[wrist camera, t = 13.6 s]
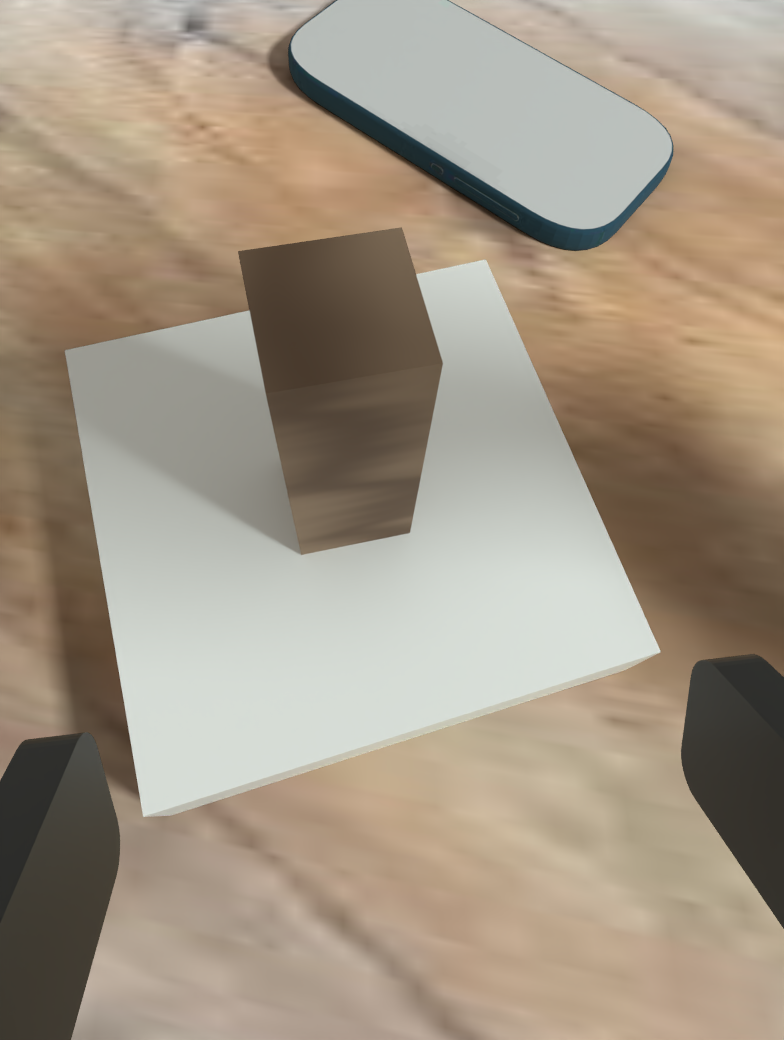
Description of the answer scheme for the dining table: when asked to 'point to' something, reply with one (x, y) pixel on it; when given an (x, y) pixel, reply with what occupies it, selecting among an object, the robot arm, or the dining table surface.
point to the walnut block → (345, 381)
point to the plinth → (335, 559)
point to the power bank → (485, 115)
